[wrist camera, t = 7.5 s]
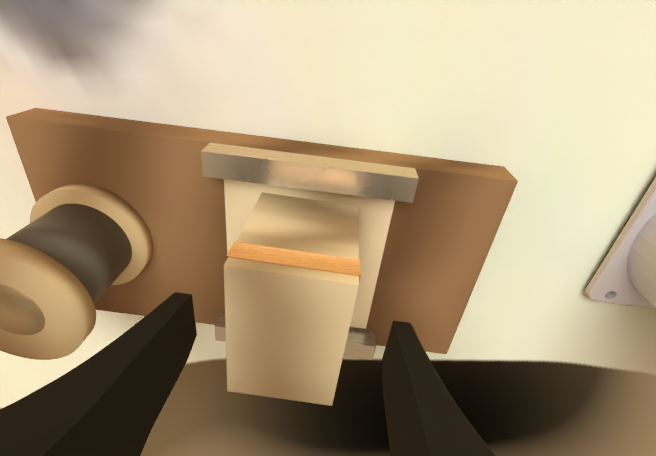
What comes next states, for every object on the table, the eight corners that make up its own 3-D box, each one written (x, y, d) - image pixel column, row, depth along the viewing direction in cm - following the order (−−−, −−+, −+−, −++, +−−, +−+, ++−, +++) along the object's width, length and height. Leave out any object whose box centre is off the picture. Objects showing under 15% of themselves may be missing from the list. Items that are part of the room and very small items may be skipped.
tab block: (359, 205, 15) (361, 283, 11) (338, 312, 18) (333, 406, 14) (260, 190, 15) (222, 263, 11) (257, 301, 18) (225, 391, 14)
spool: (143, 190, 15) (61, 260, 11) (159, 282, 18) (97, 367, 14) (27, 176, 15) (-102, 240, 11) (59, 269, 18) (-34, 350, 14)
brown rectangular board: (504, 166, 15) (528, 192, 13) (440, 332, 20) (450, 369, 18) (35, 108, 15) (-17, 123, 13) (90, 288, 20) (59, 320, 18)
